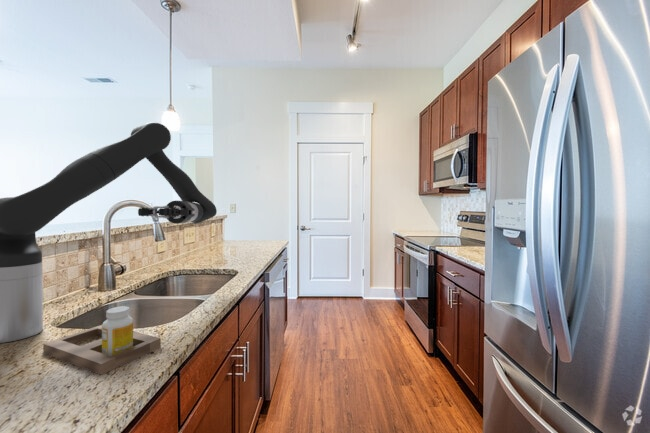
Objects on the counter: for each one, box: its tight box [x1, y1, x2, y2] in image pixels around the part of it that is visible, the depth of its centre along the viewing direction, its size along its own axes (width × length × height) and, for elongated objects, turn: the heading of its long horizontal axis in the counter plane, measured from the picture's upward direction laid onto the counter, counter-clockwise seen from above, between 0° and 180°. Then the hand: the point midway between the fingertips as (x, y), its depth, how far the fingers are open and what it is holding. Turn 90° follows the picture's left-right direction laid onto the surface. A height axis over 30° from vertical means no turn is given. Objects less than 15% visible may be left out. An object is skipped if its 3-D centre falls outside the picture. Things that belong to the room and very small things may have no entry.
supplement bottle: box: [101, 305, 134, 356], centre depth 62 cm, size 5×5×10 cm
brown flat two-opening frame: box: [42, 324, 162, 376], centre depth 64 cm, size 20×12×2 cm, turn 67°
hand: (155, 212), depth 83 cm, fingers open, 8 cm apart
